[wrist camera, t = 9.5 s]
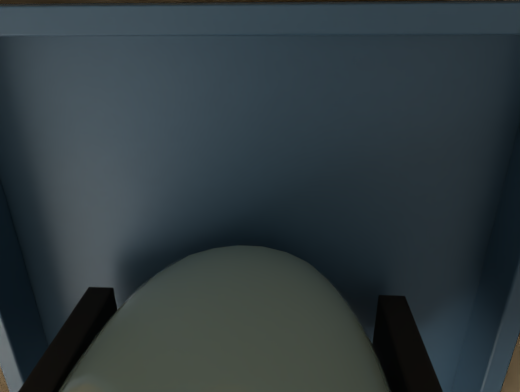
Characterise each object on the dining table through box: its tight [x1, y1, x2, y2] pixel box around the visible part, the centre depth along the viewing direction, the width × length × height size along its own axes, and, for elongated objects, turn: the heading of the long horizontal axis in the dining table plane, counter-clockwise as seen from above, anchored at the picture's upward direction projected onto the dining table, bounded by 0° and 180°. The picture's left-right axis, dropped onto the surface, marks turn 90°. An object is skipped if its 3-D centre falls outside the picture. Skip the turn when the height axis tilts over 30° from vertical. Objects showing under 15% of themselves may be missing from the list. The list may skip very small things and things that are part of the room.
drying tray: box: [0, 0, 520, 392], centre depth 13 cm, size 15×18×2 cm
